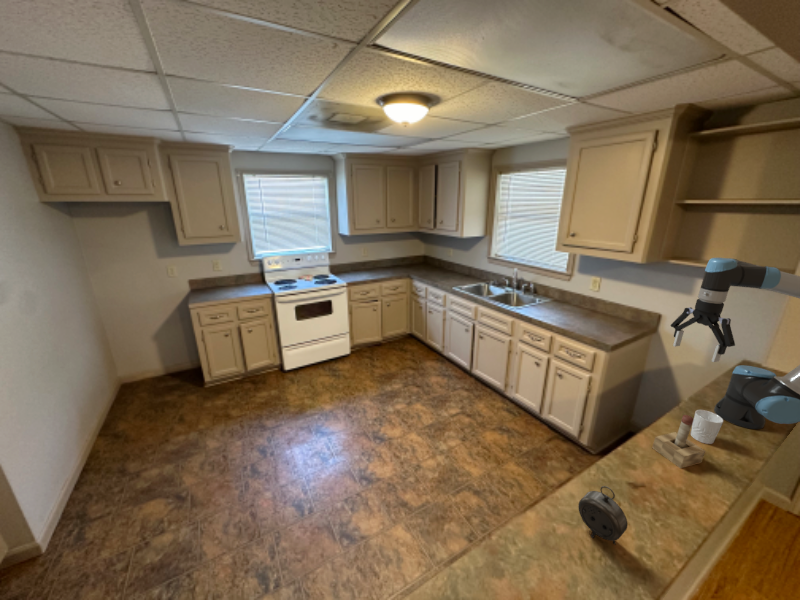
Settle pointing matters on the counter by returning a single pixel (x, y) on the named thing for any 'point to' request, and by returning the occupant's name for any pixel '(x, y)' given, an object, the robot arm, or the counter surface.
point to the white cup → (706, 426)
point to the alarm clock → (603, 515)
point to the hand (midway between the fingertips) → (694, 353)
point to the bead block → (678, 450)
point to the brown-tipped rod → (683, 431)
